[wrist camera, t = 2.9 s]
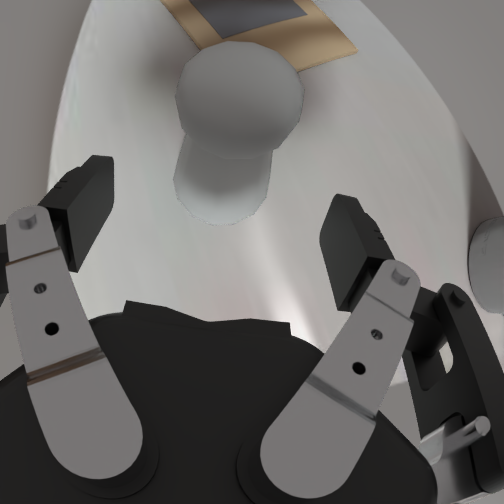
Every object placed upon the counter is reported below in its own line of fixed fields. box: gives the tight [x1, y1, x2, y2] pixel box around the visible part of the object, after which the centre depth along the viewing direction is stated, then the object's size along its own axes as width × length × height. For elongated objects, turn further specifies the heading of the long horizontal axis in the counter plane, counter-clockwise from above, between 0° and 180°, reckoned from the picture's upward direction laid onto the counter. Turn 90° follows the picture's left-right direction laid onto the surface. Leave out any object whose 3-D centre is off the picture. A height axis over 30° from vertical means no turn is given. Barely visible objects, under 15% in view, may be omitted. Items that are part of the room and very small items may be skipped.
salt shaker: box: [173, 41, 305, 225], centre depth 15 cm, size 6×6×13 cm
